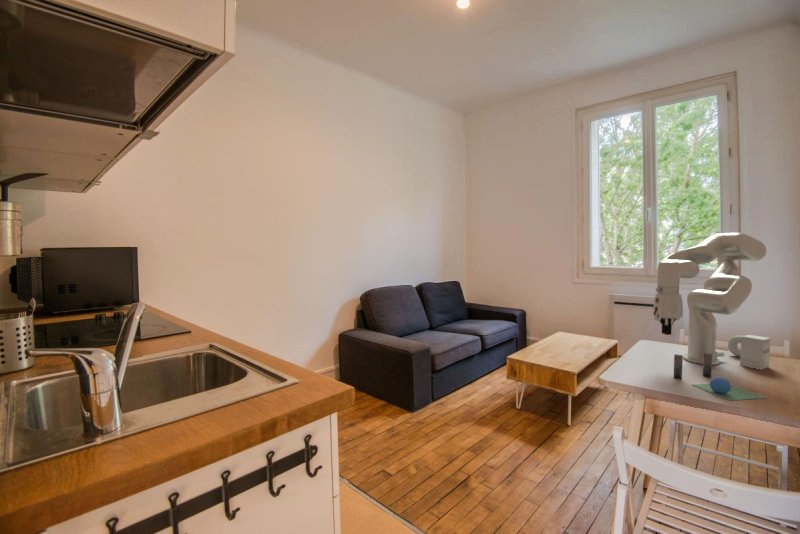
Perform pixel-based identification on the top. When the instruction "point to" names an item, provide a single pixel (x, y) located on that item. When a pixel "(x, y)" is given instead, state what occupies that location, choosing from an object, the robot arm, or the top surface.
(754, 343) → the supplement box
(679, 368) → the post
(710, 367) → the post
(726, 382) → the ball
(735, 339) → the donut
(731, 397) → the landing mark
